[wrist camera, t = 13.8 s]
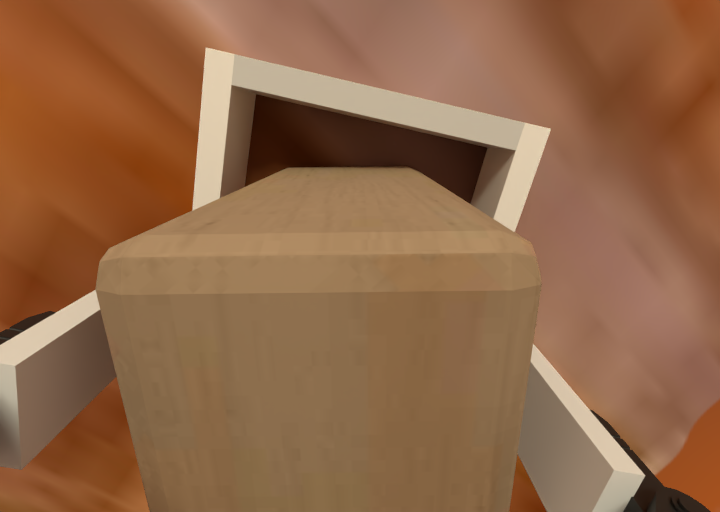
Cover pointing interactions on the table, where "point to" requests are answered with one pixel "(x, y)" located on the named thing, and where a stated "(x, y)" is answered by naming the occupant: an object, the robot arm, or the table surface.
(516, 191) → the box
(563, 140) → the table surface
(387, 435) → the wooden block
